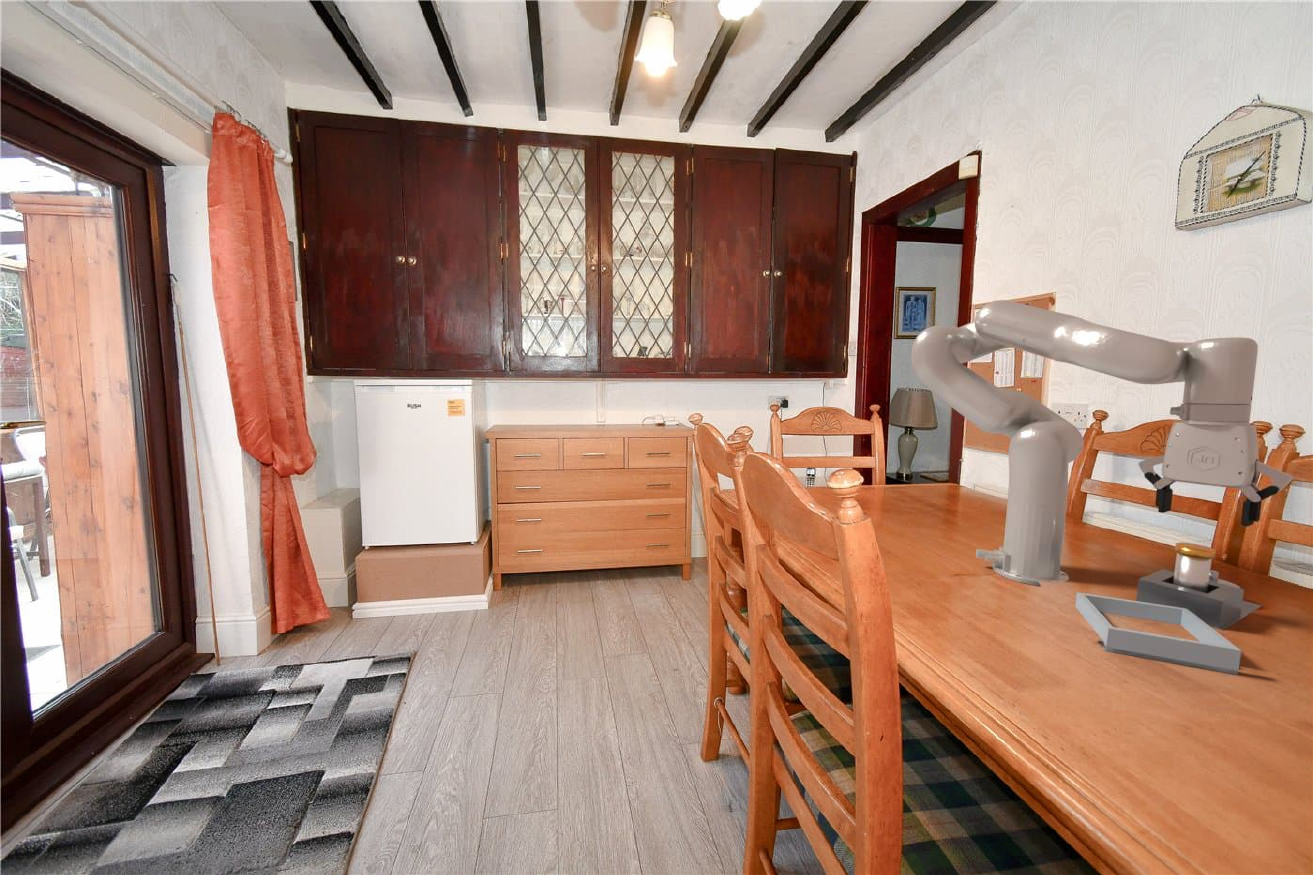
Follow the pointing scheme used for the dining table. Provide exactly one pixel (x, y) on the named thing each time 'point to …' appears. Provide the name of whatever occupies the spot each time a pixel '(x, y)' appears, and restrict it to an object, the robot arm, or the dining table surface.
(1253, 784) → the dining table surface
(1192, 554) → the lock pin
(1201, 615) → the dark grey slotted base
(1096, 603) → the gray square frame
